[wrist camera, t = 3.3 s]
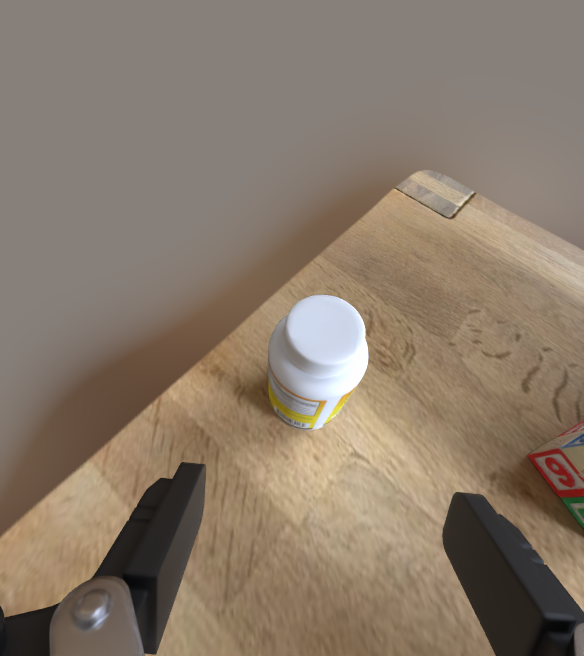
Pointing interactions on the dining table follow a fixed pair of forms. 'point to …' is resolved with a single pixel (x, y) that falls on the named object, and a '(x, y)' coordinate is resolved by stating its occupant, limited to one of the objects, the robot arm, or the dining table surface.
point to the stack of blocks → (564, 468)
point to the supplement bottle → (315, 361)
